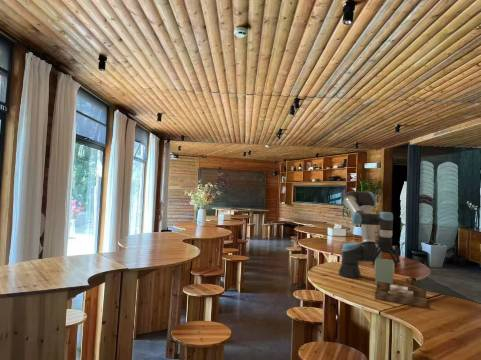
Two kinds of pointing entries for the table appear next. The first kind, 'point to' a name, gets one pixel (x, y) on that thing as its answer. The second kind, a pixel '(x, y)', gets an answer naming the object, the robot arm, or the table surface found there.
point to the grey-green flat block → (384, 271)
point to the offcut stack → (400, 290)
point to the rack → (416, 300)
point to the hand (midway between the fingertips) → (384, 271)
